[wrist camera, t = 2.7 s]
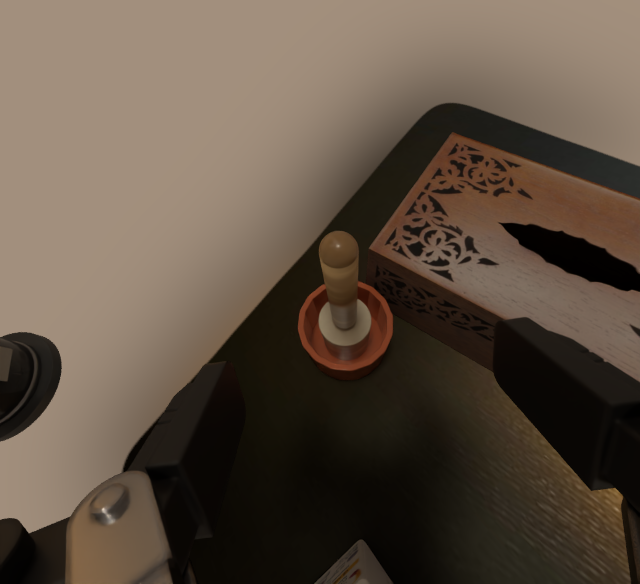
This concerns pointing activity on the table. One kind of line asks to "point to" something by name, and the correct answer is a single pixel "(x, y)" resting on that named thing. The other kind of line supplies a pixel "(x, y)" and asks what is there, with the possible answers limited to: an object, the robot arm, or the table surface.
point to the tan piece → (342, 298)
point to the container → (356, 568)
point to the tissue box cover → (512, 254)
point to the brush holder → (376, 344)
